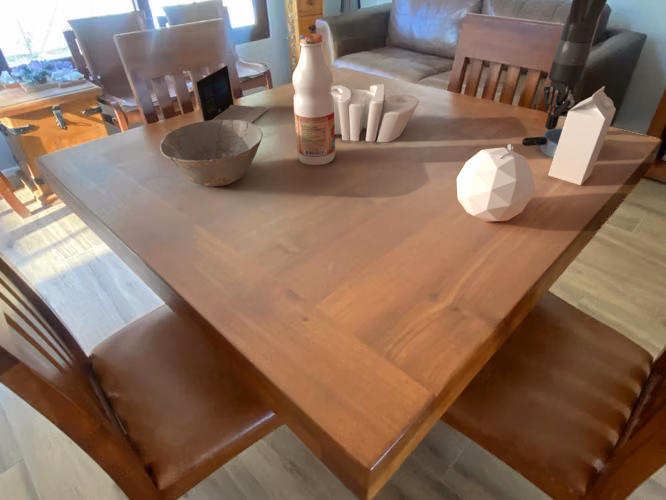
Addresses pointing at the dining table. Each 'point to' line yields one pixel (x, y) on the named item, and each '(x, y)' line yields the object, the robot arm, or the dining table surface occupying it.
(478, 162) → the geodesic sphere
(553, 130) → the pan
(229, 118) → the laptop
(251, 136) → the ceramic bowl
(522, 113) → the dining table surface
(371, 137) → the wavy white extrusion
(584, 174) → the milk carton
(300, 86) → the fruit juice
